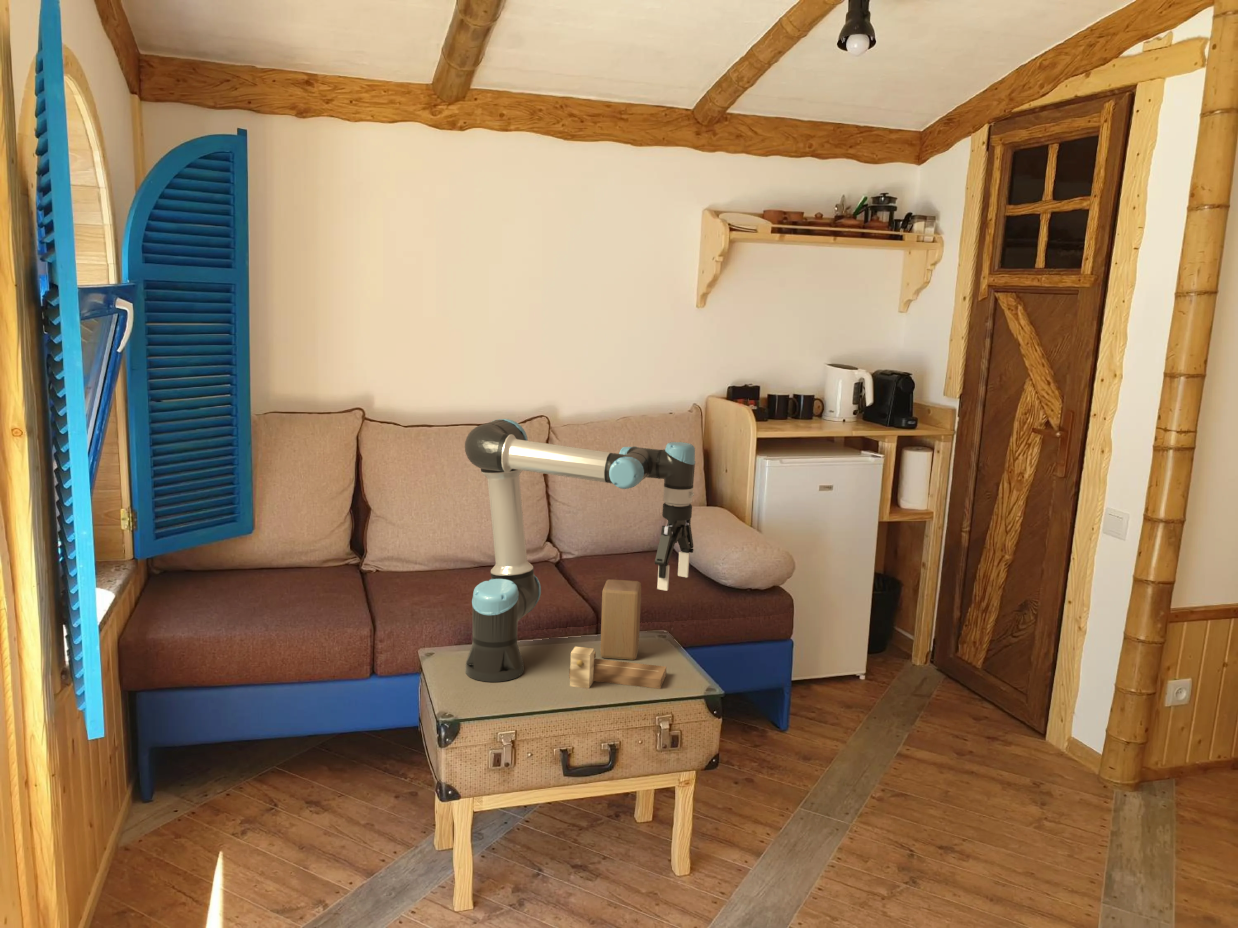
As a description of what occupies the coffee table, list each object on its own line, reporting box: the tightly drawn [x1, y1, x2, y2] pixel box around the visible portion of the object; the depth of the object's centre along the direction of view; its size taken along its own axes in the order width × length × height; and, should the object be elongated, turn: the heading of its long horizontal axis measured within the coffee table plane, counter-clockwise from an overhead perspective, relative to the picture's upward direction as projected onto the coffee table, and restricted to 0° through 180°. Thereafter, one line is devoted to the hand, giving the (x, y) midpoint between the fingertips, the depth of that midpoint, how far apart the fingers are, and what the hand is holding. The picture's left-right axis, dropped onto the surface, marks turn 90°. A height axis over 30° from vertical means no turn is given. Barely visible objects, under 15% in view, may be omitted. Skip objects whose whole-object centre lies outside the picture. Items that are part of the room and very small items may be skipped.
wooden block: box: [599, 579, 642, 661], centre depth 272 cm, size 10×10×20 cm
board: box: [568, 658, 667, 690], centre depth 257 cm, size 24×9×2 cm, turn 78°
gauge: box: [569, 646, 597, 689], centre depth 255 cm, size 5×14×9 cm, turn 168°
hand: (673, 582), depth 255 cm, fingers open, 13 cm apart
